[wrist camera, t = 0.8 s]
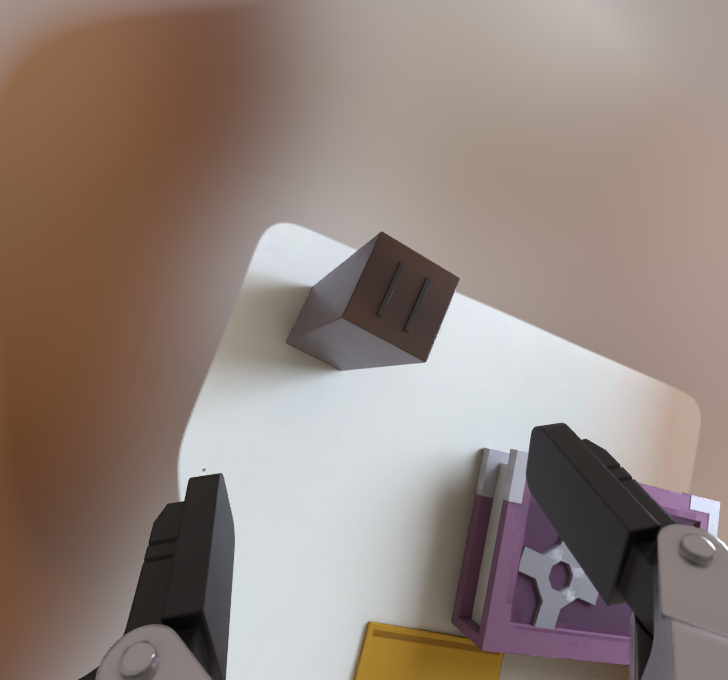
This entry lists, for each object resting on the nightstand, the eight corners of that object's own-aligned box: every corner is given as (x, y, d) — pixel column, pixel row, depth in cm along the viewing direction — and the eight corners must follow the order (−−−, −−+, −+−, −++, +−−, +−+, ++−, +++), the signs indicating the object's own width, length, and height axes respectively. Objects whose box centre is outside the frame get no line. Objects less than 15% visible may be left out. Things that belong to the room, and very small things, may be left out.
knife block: (341, 370, 42) (427, 362, 27) (285, 342, 41) (342, 317, 25) (366, 315, 43) (461, 278, 28) (312, 286, 42) (382, 230, 27)
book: (674, 492, 54) (720, 502, 49) (655, 646, 51) (702, 673, 46) (484, 443, 46) (517, 450, 41) (449, 622, 43) (481, 651, 39)
